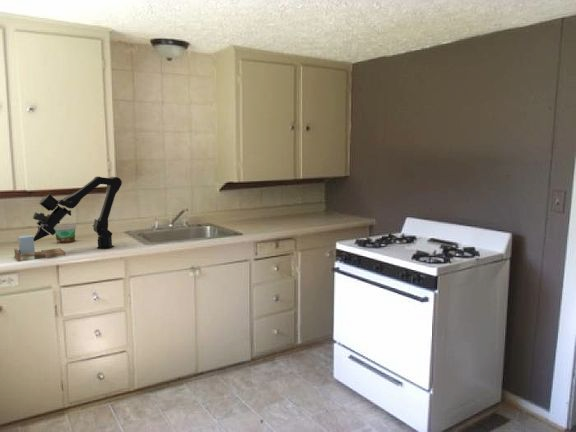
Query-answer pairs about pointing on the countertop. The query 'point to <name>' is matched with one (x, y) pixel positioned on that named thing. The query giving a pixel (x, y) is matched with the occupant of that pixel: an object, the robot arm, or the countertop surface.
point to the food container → (65, 233)
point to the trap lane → (39, 254)
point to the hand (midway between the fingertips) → (33, 240)
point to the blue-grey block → (26, 244)
